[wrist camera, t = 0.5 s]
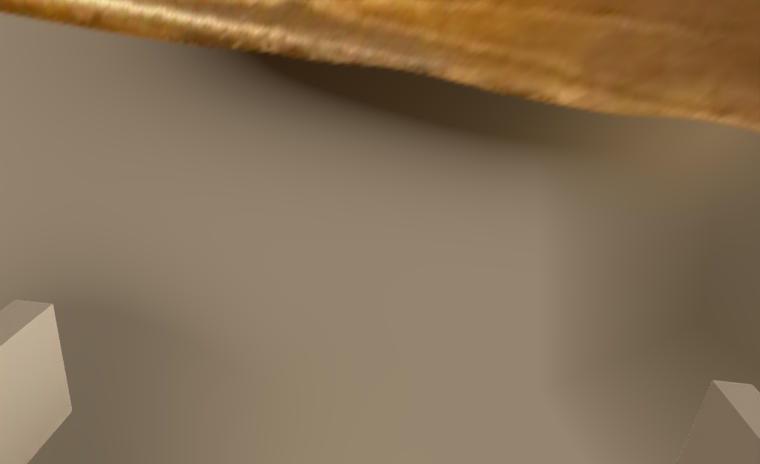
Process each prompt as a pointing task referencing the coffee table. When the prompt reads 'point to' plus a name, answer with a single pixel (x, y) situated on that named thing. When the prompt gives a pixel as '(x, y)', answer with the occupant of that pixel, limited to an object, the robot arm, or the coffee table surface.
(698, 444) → the robot arm
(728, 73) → the coffee table surface
